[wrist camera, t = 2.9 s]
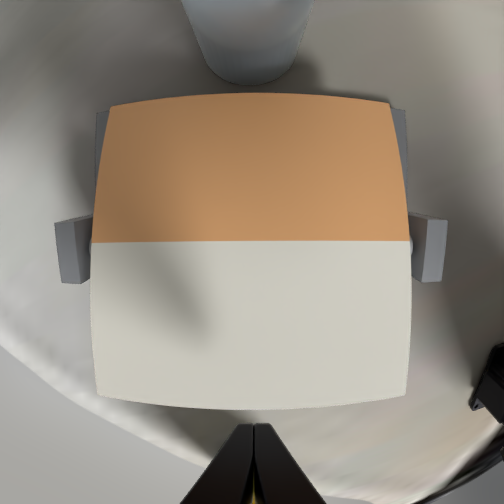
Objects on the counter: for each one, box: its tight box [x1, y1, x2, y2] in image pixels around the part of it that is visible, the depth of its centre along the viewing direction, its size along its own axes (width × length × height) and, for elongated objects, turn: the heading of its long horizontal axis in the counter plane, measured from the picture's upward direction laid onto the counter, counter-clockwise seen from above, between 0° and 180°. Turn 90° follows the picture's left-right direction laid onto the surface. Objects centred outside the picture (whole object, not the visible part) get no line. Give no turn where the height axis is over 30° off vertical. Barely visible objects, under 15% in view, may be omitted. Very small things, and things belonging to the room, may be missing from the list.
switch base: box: [54, 108, 448, 284], centre depth 13 cm, size 16×13×6 cm
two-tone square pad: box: [89, 93, 413, 410], centre depth 10 cm, size 12×11×2 cm
